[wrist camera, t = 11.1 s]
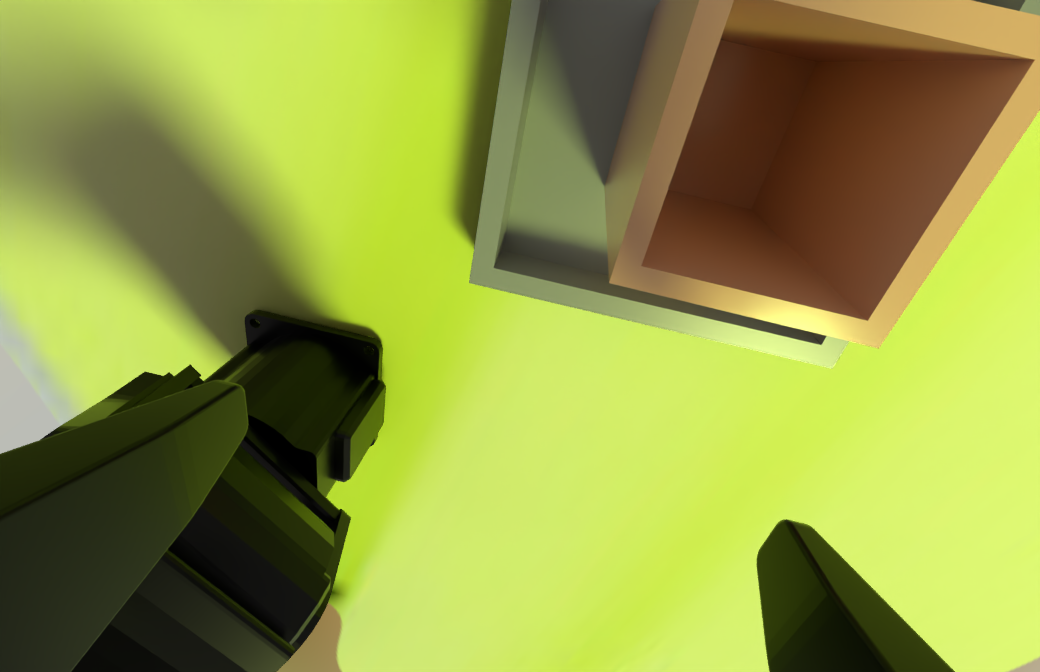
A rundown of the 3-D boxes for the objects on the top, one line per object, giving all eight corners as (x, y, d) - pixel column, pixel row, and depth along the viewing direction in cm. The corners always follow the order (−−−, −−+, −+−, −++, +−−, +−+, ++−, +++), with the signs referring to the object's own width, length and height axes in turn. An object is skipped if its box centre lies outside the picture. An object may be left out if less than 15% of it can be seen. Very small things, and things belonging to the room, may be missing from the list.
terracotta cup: (604, 186, 18) (608, 282, 10) (655, 6, 15) (717, -57, 7) (754, 222, 18) (878, 348, 10) (833, 47, 15) (1095, 28, 7)
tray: (482, 259, 20) (469, 283, 18) (556, -196, 14) (548, -246, 11) (806, 335, 20) (832, 368, 18) (1050, -93, 13) (1139, -124, 11)
